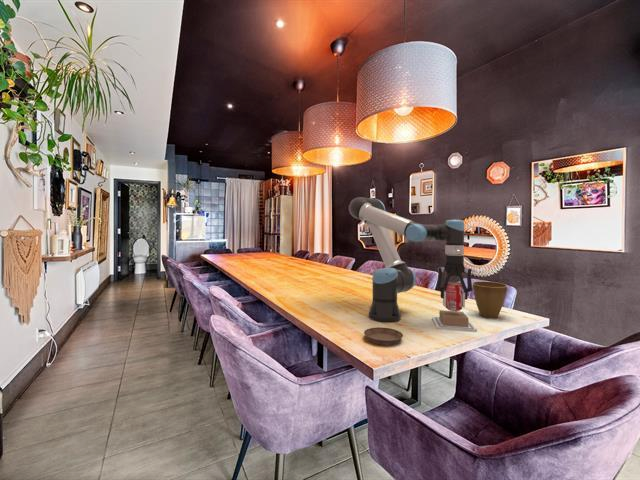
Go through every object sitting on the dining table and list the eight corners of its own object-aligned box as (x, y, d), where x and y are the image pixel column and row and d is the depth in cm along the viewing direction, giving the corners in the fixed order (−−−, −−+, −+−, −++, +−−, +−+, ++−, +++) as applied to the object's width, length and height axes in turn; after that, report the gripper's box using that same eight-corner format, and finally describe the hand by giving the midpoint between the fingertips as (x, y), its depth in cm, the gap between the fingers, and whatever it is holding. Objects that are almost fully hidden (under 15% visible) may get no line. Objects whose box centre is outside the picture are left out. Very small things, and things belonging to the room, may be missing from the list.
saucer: (375, 330, 125) (375, 324, 125) (409, 339, 115) (409, 332, 115) (356, 340, 114) (356, 333, 113) (392, 351, 104) (392, 343, 104)
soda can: (458, 307, 135) (459, 281, 134) (465, 312, 128) (465, 284, 127) (442, 307, 135) (443, 281, 135) (448, 311, 128) (448, 284, 128)
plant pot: (468, 311, 154) (468, 280, 154) (499, 312, 151) (500, 281, 151) (477, 319, 140) (477, 286, 139) (511, 321, 137) (512, 287, 136)
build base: (436, 328, 127) (436, 317, 127) (431, 319, 140) (432, 308, 140) (477, 331, 123) (477, 319, 123) (468, 321, 137) (468, 310, 137)
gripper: (431, 255, 129) (431, 306, 130) (481, 255, 125) (480, 309, 126) (429, 253, 137) (428, 302, 137) (476, 254, 132) (475, 305, 133)
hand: (453, 306), depth 131 cm, fingers closed on soda can, 7 cm apart
